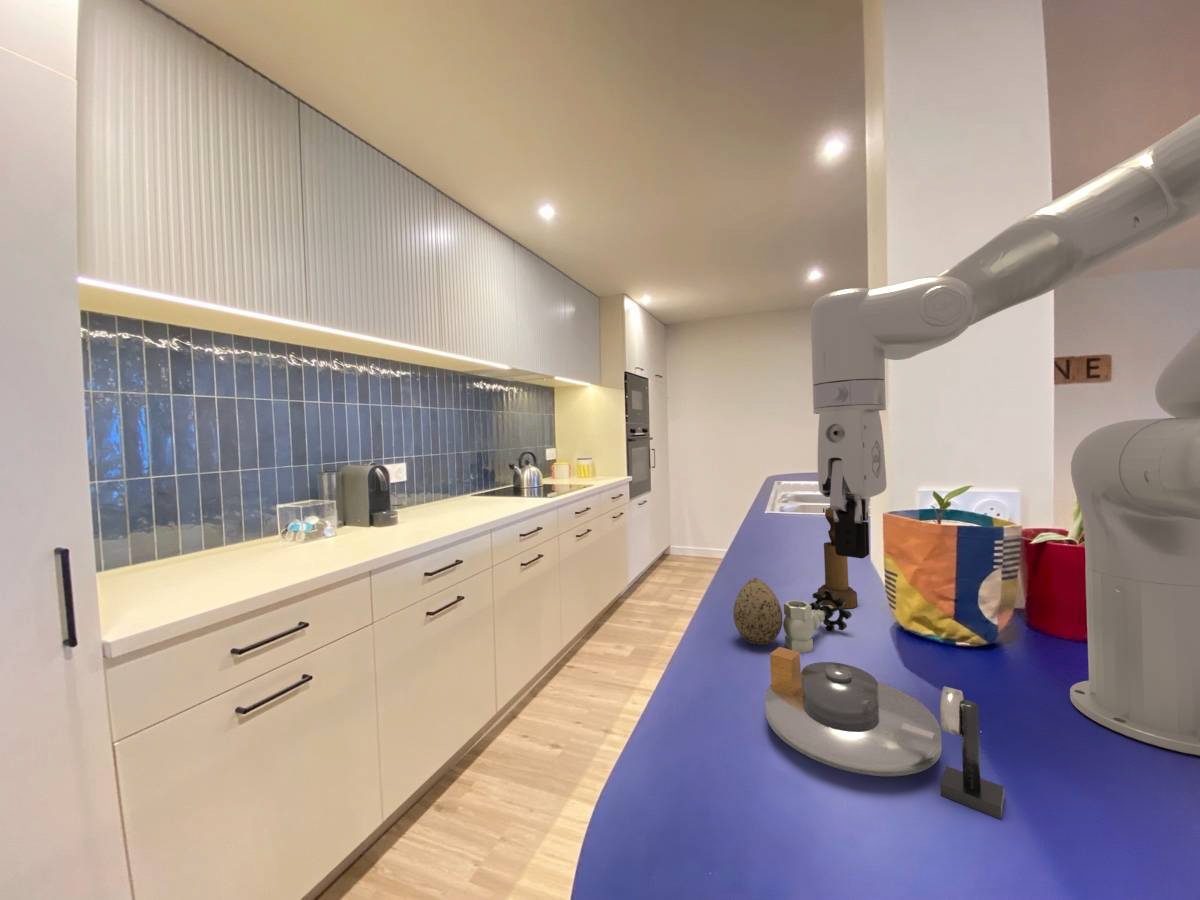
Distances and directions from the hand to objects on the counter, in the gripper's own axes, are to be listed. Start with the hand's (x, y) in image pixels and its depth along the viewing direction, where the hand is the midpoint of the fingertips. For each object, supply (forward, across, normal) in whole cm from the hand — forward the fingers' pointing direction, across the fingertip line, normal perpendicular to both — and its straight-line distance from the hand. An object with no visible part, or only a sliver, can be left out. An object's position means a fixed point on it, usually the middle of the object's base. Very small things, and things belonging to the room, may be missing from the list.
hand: (852, 555), depth 56 cm
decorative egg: (+18, +8, +16) cm, 25 cm away
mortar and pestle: (+17, +33, +12) cm, 39 cm away
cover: (+14, -9, -1) cm, 17 cm away
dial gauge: (+17, -10, -12) cm, 23 cm away
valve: (+18, +14, +10) cm, 25 cm away
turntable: (+16, -8, -1) cm, 18 cm away
